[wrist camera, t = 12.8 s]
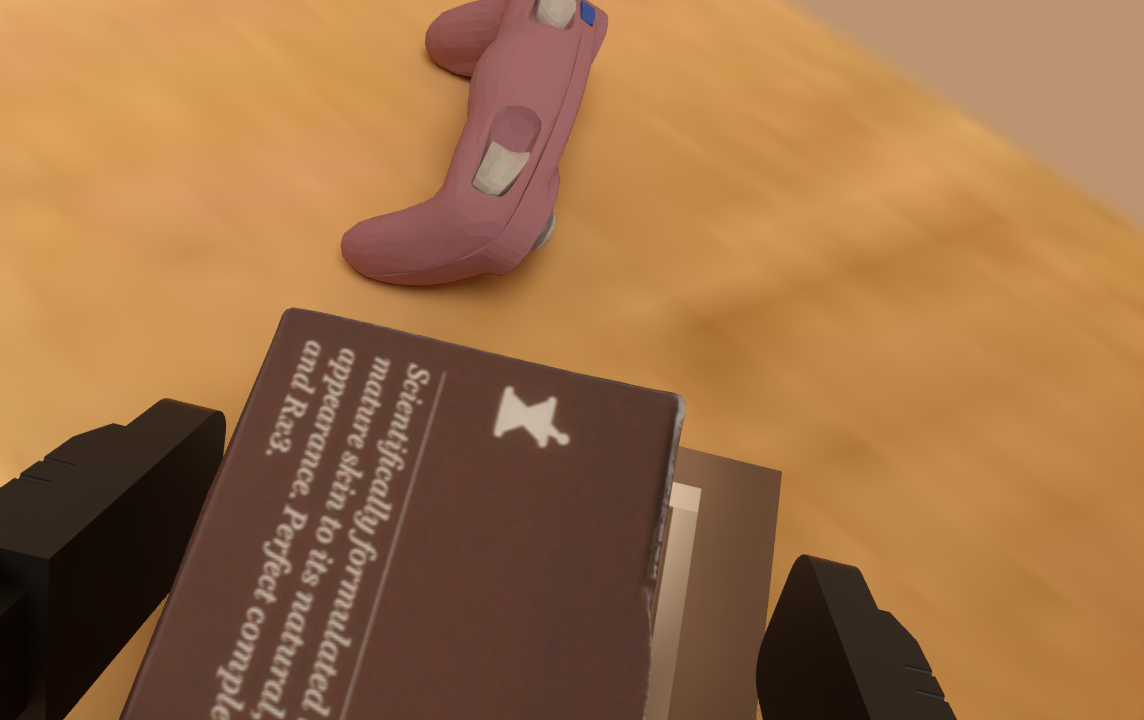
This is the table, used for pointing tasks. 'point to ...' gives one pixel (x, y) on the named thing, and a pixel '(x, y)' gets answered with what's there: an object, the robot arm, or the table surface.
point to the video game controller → (492, 143)
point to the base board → (712, 589)
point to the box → (419, 540)
